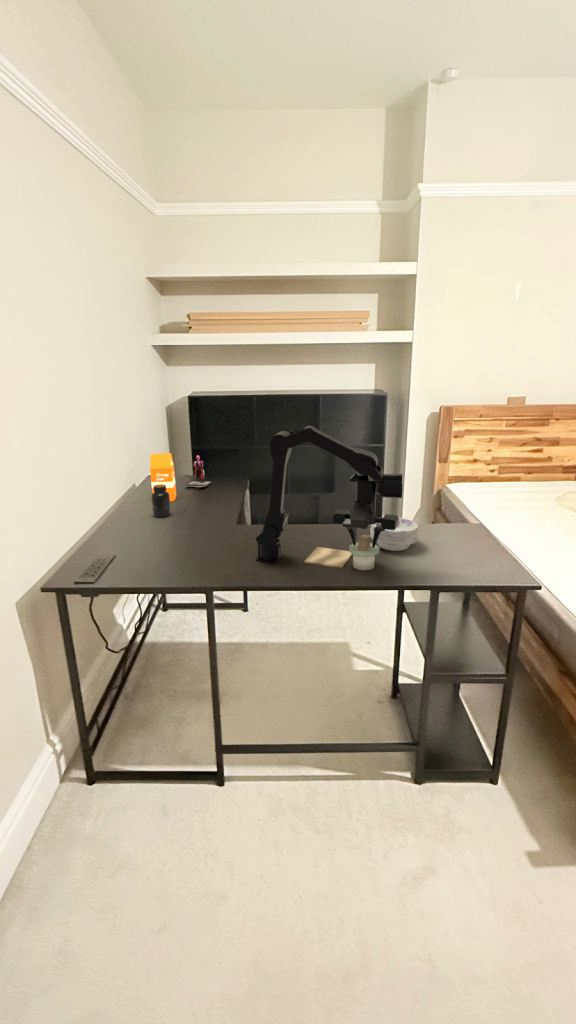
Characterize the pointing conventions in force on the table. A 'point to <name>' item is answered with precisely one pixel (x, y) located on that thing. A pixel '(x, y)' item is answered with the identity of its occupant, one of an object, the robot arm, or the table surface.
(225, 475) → the table surface
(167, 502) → the supplement bottle
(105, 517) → the table surface
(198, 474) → the statue
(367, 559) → the ramekin
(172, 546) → the table surface
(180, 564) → the table surface
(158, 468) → the orange juice
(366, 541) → the cover
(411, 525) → the paper bowls
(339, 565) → the mat
